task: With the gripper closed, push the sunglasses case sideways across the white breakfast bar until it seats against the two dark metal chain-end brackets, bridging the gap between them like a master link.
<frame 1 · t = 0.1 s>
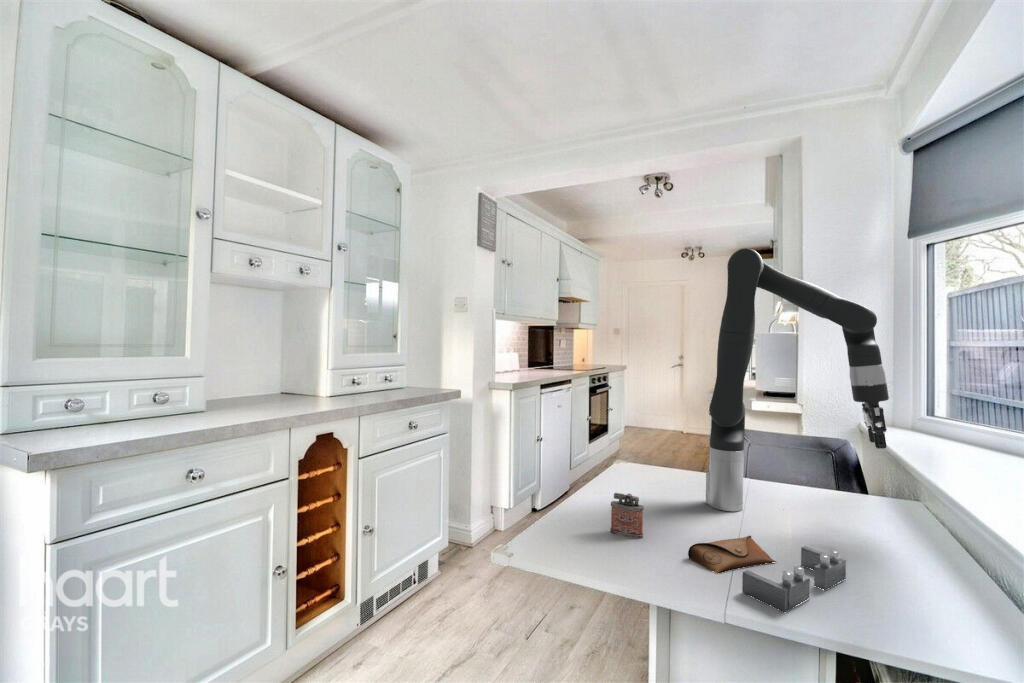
hand: (878, 445, 125), 22 cm above the table, tool pointing down, fingers open, 8 cm apart
sunglasses case: (732, 563, 106), on the table
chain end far: (829, 583, 96), on the table
lighter: (626, 535, 120), on the table
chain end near: (792, 603, 89), on the table
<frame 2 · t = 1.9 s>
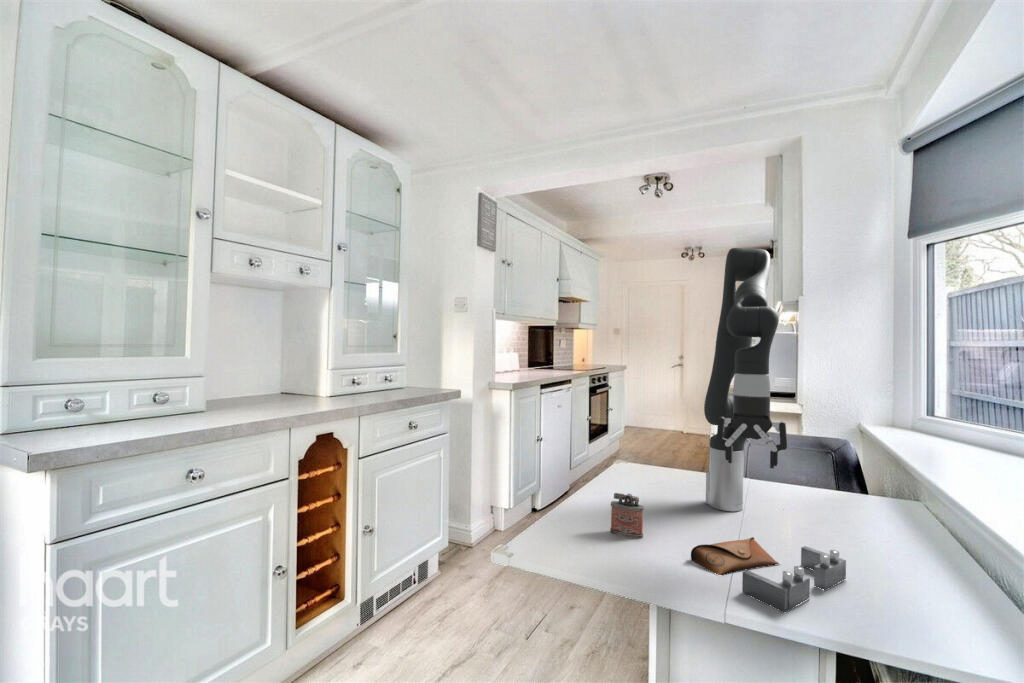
hand: (750, 465, 110), 20 cm above the table, tool pointing down, fingers open, 8 cm apart
nothing on the table moved.
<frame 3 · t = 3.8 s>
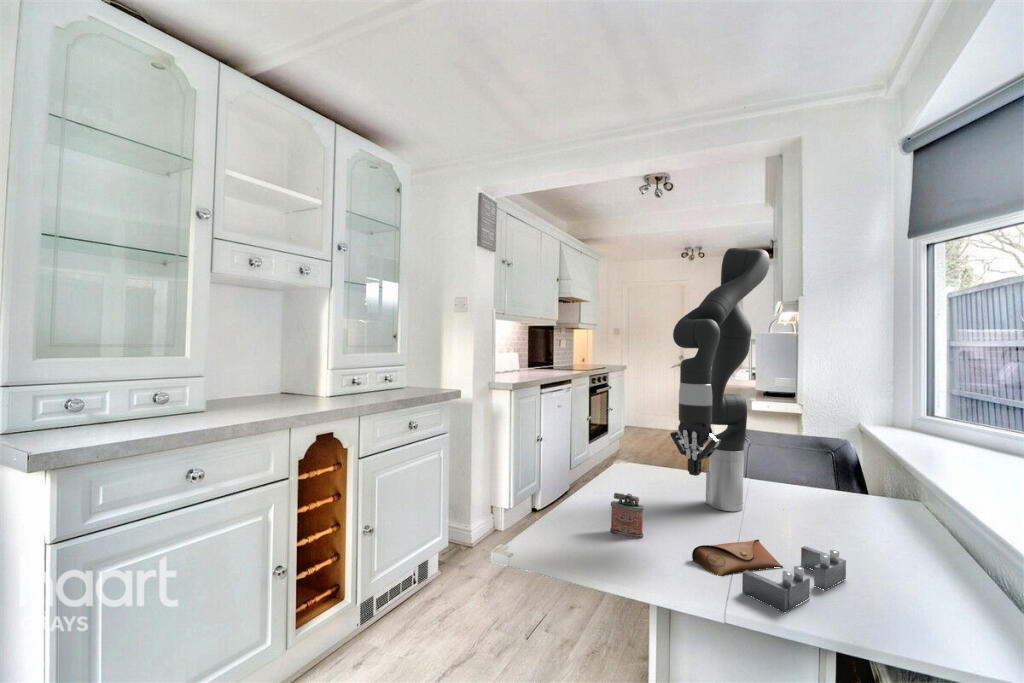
hand: (694, 474, 115), 16 cm above the table, tool pointing down, fingers closed
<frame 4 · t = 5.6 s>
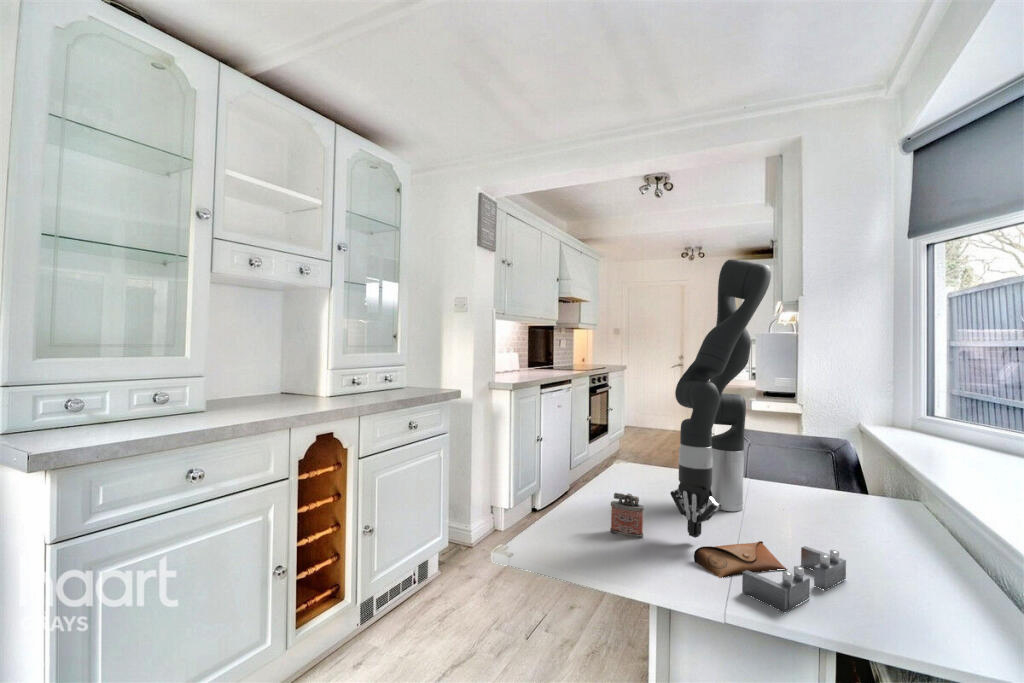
hand: (694, 535, 115), 2 cm above the table, tool pointing down, fingers closed
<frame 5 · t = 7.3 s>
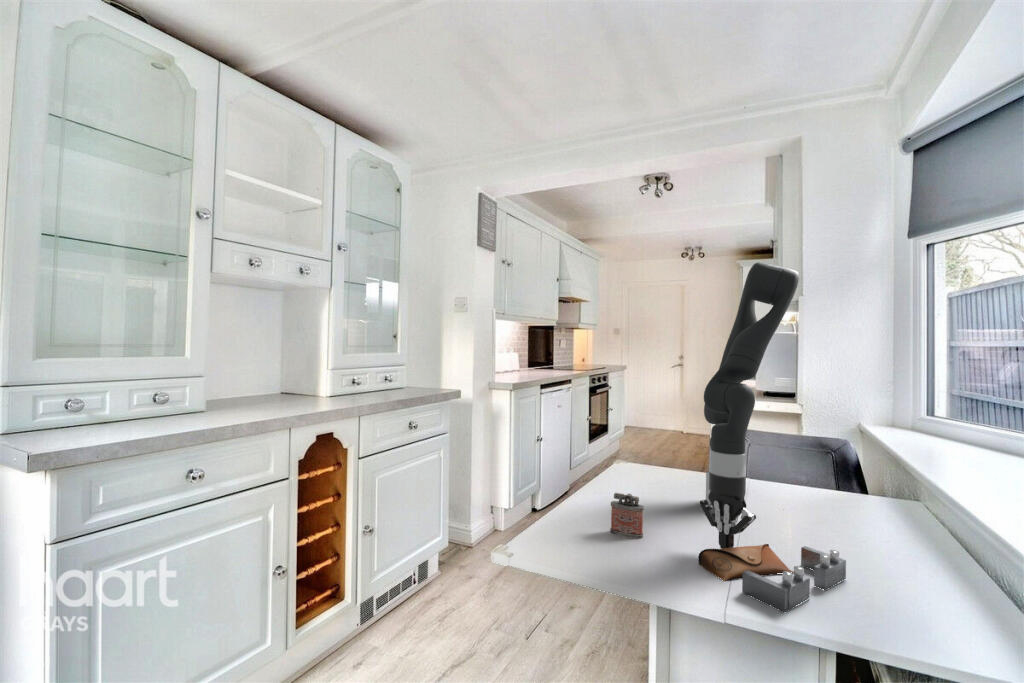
hand: (725, 548, 108), 2 cm above the table, tool pointing down, fingers closed
sunglasses case: (746, 571, 103), on the table, touching gripper
everything else where it was.
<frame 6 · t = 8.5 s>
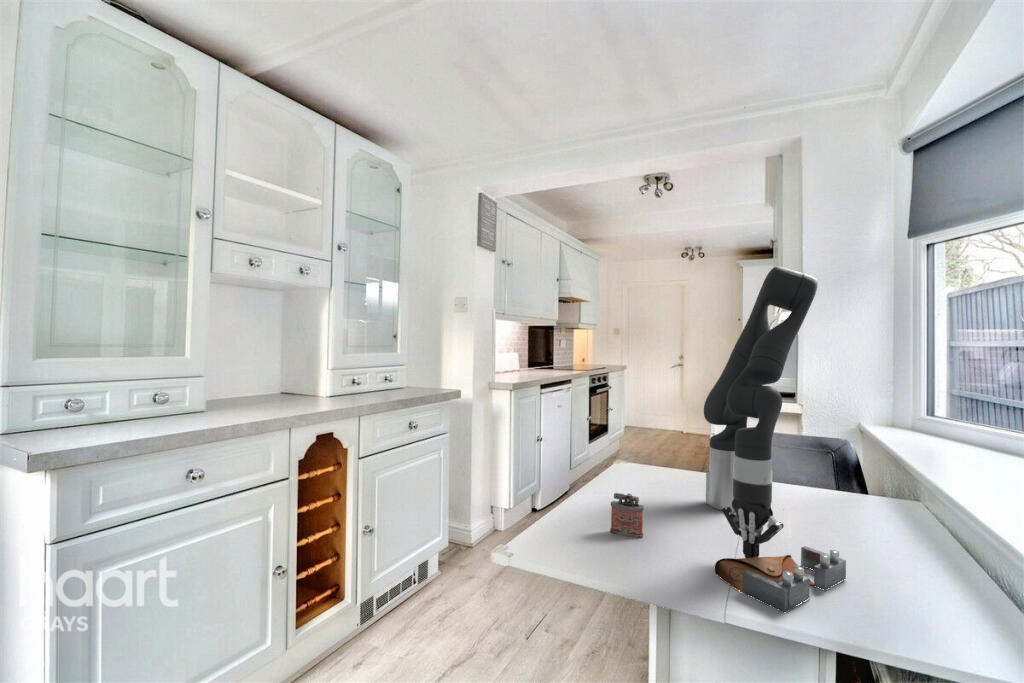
hand: (750, 558, 103), 2 cm above the table, tool pointing down, fingers closed
sunglasses case: (765, 583, 98), on the table
everything else where it was.
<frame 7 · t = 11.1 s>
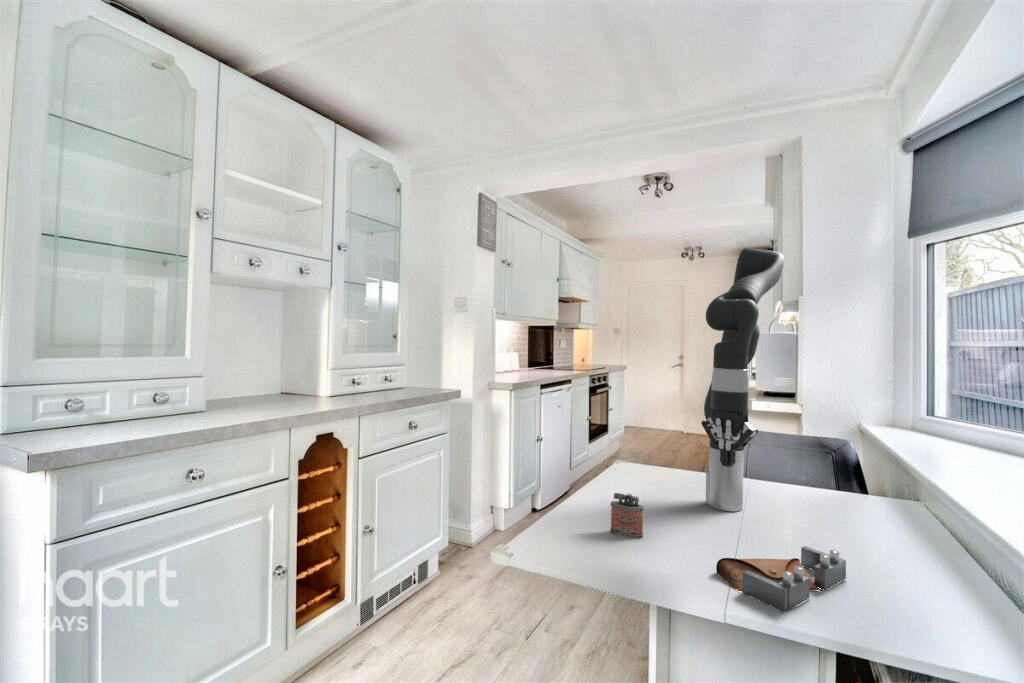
hand: (727, 465, 108), 20 cm above the table, tool pointing down, fingers closed
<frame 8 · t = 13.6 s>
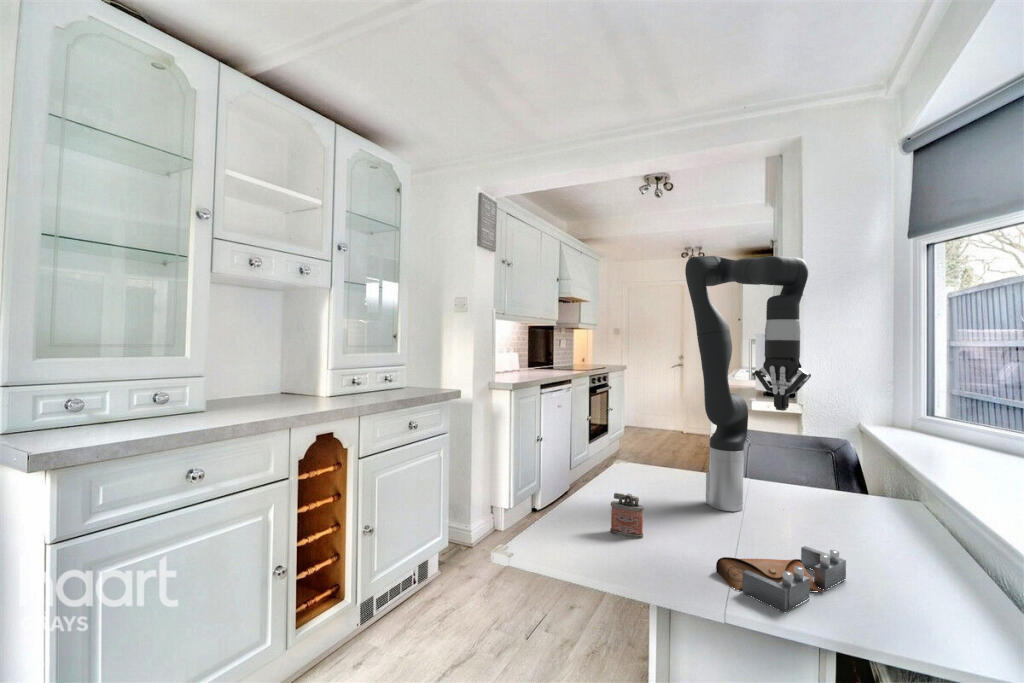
hand: (781, 409, 117), 32 cm above the table, tool pointing down, fingers closed
at the end: sunglasses case inside the target area (3.3 cm from its centre), on the table; sunglasses case moved 10.1 cm from its start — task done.
